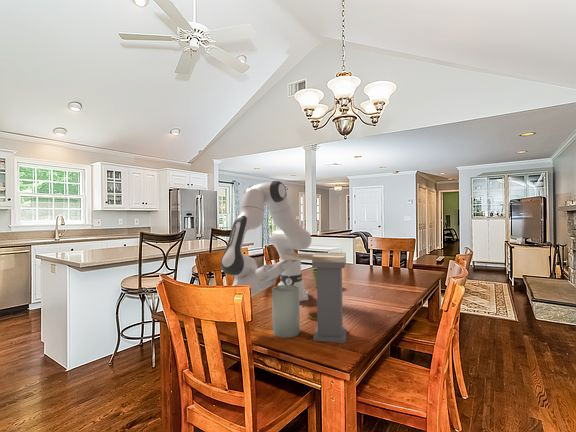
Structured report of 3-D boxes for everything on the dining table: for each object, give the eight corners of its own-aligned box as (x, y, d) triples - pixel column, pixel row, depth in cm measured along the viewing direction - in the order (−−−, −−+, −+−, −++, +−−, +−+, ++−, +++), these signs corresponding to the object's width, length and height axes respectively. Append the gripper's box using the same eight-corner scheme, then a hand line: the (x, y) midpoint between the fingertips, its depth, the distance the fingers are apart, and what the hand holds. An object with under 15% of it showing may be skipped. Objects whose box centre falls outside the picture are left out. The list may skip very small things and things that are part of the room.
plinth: (317, 328, 131) (316, 257, 130) (346, 330, 128) (345, 257, 128) (313, 340, 119) (312, 262, 119) (345, 343, 116) (344, 262, 116)
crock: (276, 326, 134) (276, 284, 134) (302, 328, 132) (301, 285, 132) (269, 336, 124) (268, 291, 123) (296, 338, 121) (296, 292, 121)
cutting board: (288, 256, 133) (288, 251, 133) (345, 257, 128) (345, 252, 127) (281, 261, 121) (281, 256, 121) (344, 262, 116) (344, 257, 116)
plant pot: (309, 285, 204) (309, 268, 204) (327, 284, 207) (327, 267, 206) (314, 290, 193) (314, 272, 193) (333, 289, 195) (332, 271, 195)
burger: (306, 320, 141) (306, 310, 141) (310, 313, 150) (310, 304, 150) (328, 322, 139) (328, 311, 139) (330, 315, 148) (330, 305, 148)
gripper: (254, 274, 119) (284, 257, 116) (269, 264, 139) (295, 249, 136) (262, 289, 119) (293, 271, 116) (276, 277, 139) (303, 262, 136)
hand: (294, 259), depth 126 cm, fingers open, 8 cm apart
